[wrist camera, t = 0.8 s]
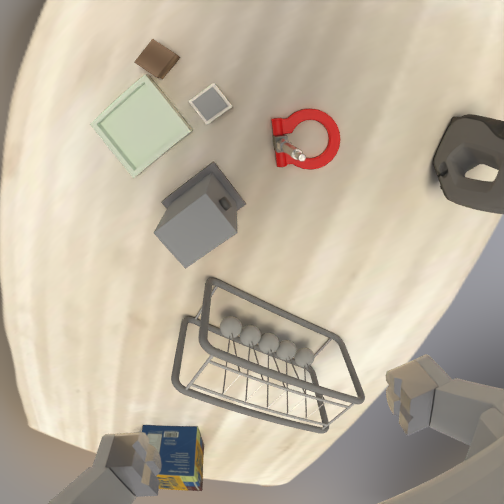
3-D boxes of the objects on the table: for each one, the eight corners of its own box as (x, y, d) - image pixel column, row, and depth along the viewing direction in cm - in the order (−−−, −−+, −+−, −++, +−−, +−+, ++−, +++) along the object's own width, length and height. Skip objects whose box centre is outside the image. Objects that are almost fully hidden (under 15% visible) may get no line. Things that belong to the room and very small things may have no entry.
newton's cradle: (342, 336, 62) (369, 403, 46) (311, 368, 66) (328, 436, 50) (208, 273, 54) (199, 345, 38) (181, 315, 58) (168, 389, 42)
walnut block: (159, 43, 38) (152, 38, 34) (180, 57, 39) (175, 53, 35) (142, 65, 39) (134, 62, 35) (162, 79, 40) (156, 77, 37)
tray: (148, 75, 40) (145, 74, 38) (192, 130, 44) (190, 131, 42) (95, 123, 42) (90, 124, 40) (137, 175, 46) (133, 178, 44)
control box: (213, 161, 46) (207, 181, 35) (245, 203, 49) (249, 234, 38) (162, 201, 48) (142, 231, 37) (194, 239, 51) (184, 278, 41)
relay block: (216, 84, 41) (213, 82, 36) (232, 106, 43) (232, 106, 37) (193, 101, 42) (187, 101, 37) (209, 122, 43) (206, 125, 38)
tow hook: (335, 106, 44) (269, 112, 43) (377, 111, 31) (289, 116, 31) (339, 164, 48) (276, 172, 47) (379, 189, 35) (297, 199, 35)
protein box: (204, 444, 79) (203, 491, 65) (152, 443, 78) (146, 487, 64) (198, 425, 74) (195, 476, 60) (142, 424, 74) (133, 472, 60)
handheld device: (475, 128, 44) (582, 164, 22) (438, 196, 50) (534, 262, 28) (455, 108, 43) (567, 134, 20) (416, 179, 48) (517, 241, 26)
